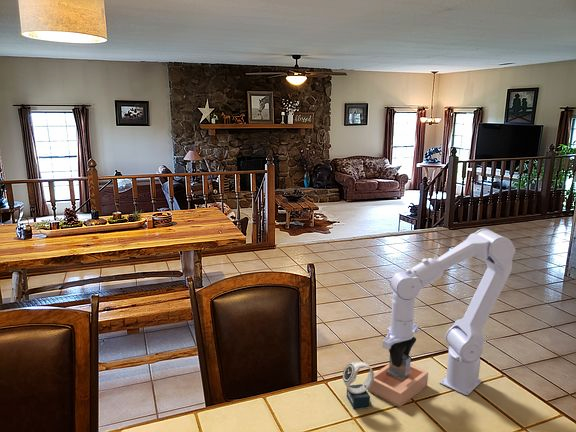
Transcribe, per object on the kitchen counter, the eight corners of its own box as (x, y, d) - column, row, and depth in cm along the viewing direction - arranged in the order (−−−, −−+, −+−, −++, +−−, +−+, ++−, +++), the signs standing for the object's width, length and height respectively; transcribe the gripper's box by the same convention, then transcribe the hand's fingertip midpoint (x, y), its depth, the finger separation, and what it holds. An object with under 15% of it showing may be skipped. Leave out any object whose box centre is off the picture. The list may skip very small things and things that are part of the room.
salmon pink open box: (396, 370, 132) (396, 358, 131) (427, 385, 125) (428, 372, 124) (367, 390, 122) (368, 377, 121) (399, 407, 115) (400, 393, 114)
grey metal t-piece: (396, 367, 126) (397, 348, 125) (412, 374, 122) (413, 355, 121) (386, 374, 122) (387, 354, 121) (402, 382, 119) (403, 361, 118)
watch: (339, 397, 119) (340, 359, 117) (368, 393, 121) (369, 356, 119) (346, 410, 114) (347, 371, 112) (376, 406, 116) (378, 368, 113)
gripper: (403, 304, 126) (400, 348, 129) (373, 320, 117) (371, 367, 120) (426, 312, 122) (423, 357, 125) (397, 329, 112) (394, 378, 115)
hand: (399, 363), depth 122 cm, fingers closed on grey metal t-piece, 2 cm apart
